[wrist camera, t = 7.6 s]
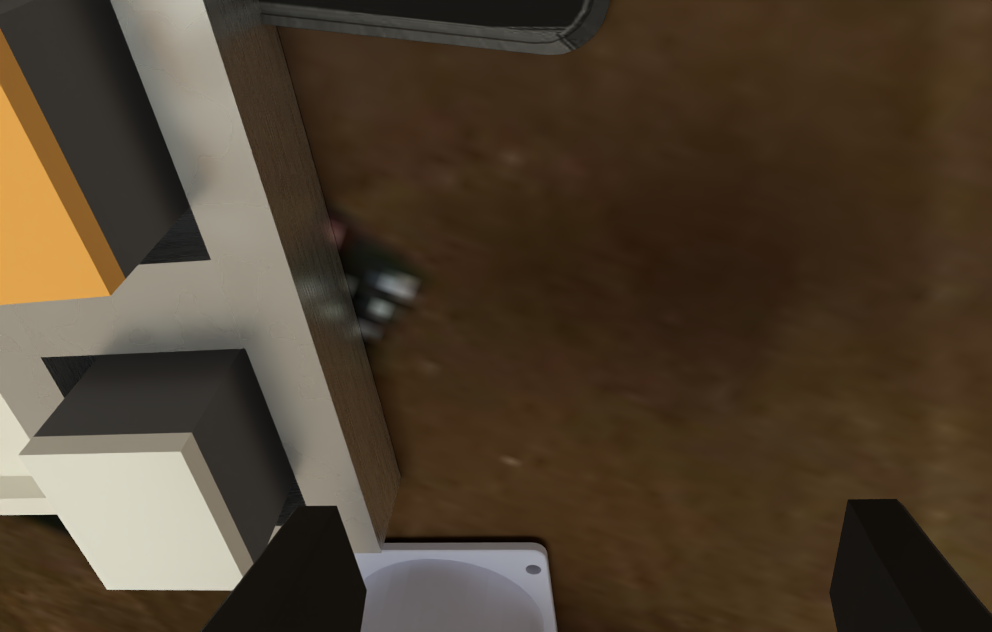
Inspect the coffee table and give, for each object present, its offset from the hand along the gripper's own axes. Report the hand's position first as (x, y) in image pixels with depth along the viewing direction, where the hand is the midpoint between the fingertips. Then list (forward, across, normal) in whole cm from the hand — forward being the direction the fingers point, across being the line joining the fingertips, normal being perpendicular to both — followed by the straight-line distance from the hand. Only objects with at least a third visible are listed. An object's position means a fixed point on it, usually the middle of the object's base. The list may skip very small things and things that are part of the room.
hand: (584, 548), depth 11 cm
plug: (+9, +11, -5) cm, 15 cm away
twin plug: (+9, +11, +4) cm, 15 cm away
